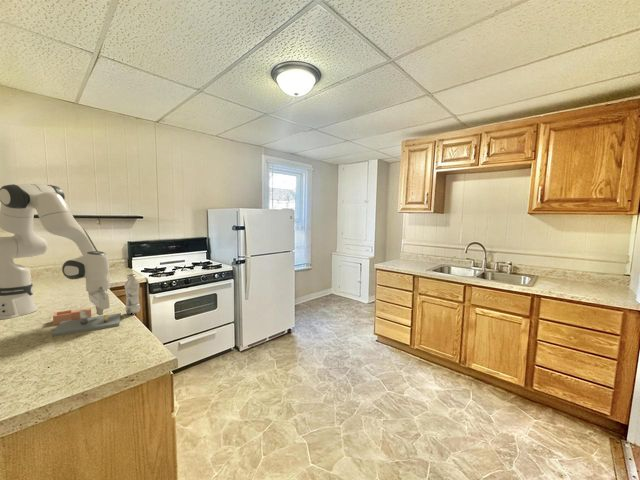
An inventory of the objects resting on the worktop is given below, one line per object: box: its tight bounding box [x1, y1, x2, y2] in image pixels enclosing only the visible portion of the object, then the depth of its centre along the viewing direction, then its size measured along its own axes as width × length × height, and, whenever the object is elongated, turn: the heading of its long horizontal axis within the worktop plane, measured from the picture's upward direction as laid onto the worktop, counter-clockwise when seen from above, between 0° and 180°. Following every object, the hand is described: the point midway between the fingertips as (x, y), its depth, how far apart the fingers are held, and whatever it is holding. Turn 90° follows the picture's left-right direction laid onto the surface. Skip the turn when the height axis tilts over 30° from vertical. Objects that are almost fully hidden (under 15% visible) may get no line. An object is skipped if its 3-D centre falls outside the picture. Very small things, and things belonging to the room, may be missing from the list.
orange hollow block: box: [52, 307, 92, 326], centre depth 131 cm, size 13×7×4 cm, turn 130°
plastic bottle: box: [124, 273, 141, 315], centre depth 140 cm, size 6×7×20 cm
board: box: [52, 312, 122, 337], centre depth 124 cm, size 22×15×2 cm
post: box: [80, 310, 109, 325], centre depth 123 cm, size 10×2×6 cm, turn 104°
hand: (99, 314), depth 129 cm, fingers closed
